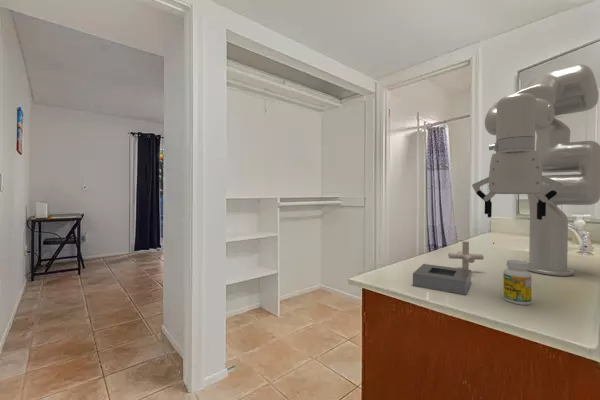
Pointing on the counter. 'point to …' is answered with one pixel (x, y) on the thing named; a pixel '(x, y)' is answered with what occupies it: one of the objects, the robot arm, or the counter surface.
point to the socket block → (442, 278)
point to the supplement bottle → (517, 283)
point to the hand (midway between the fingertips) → (513, 218)
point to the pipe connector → (465, 256)
